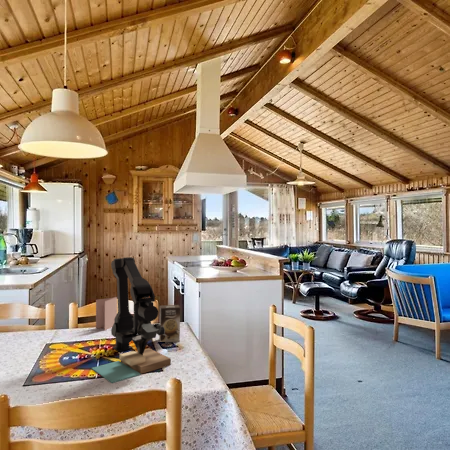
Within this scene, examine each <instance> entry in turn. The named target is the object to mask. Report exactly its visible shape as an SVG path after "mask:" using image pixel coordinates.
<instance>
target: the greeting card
mask: <svg viewBox="0 0 450 450" xmlns="http://www.w3.org/2000/svg"><path fill="white" fill-rule="evenodd" d="M117 313H118V298H117V296H115V297H106V298H100V299H96V300H95V329H100V328H104V331H107V330H109V329H112V327H113V324H114V319H115V317H116V315H117Z"/></svg>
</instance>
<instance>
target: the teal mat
mask: <svg viewBox="0 0 450 450" xmlns="http://www.w3.org/2000/svg"><path fill="white" fill-rule="evenodd" d="M91 370H93V371H94V372H95V373H97V374H99V375H100V376H101V377H102V378H104V379H105V380H107V381H108V382H109V383H111V384H114V383H117V382H121V381H125V380H128V379H131V378H134V377H137V376H141V374H140V373H139V372H137V371H135V370H134V369H132V368H130V367H128V366H127V365H125V364H123V363H122V362H121V360H117V361H113V362H109V363H105V364H102V365H97V366H94V367H93V366H92V367H91Z"/></svg>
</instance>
